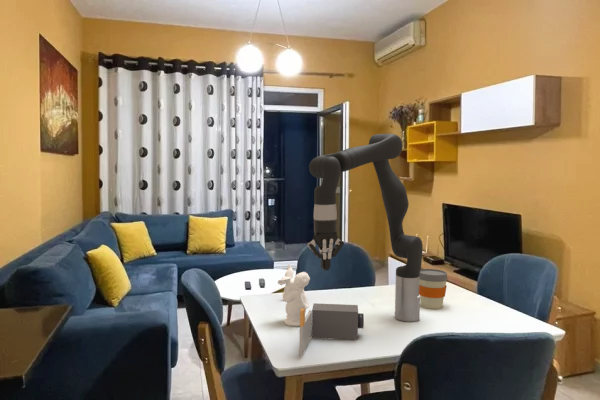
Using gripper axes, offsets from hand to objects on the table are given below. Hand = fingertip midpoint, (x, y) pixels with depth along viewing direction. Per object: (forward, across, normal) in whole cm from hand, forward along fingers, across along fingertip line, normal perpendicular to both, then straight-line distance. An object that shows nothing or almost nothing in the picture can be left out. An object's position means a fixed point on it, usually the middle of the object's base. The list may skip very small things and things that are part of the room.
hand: (325, 269), depth 150 cm
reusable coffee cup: (+28, +61, +26) cm, 72 cm away
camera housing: (+26, +7, +8) cm, 28 cm away
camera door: (+25, -7, +1) cm, 26 cm away
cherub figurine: (+26, -4, +25) cm, 36 cm away
